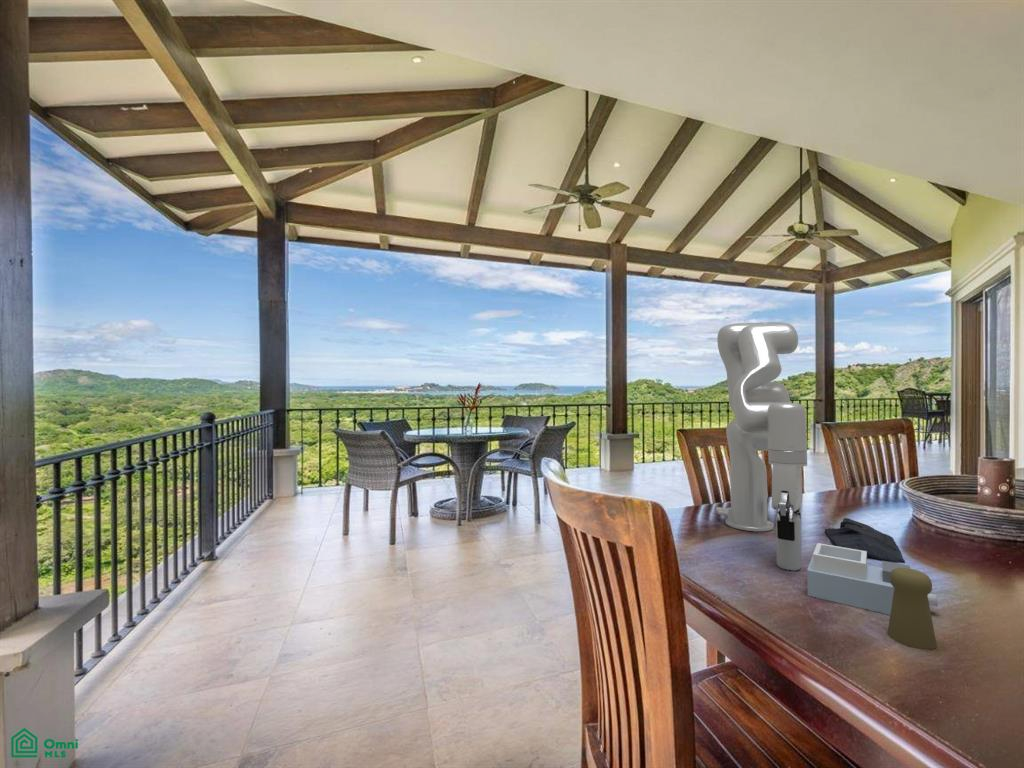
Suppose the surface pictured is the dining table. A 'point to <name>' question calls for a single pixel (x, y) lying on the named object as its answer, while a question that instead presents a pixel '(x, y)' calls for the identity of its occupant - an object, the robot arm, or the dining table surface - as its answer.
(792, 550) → the beverage can
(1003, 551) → the dining table surface
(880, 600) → the recessed tray block
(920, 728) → the dining table surface
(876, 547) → the dark slate chunk
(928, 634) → the olive pepper mill
